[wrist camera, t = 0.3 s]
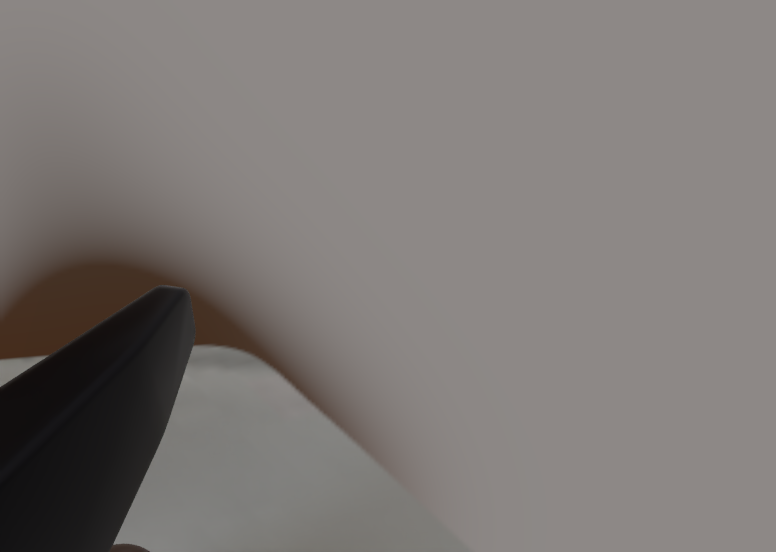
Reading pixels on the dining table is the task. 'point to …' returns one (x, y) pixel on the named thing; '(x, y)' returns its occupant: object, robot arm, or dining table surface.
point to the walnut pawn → (127, 548)
